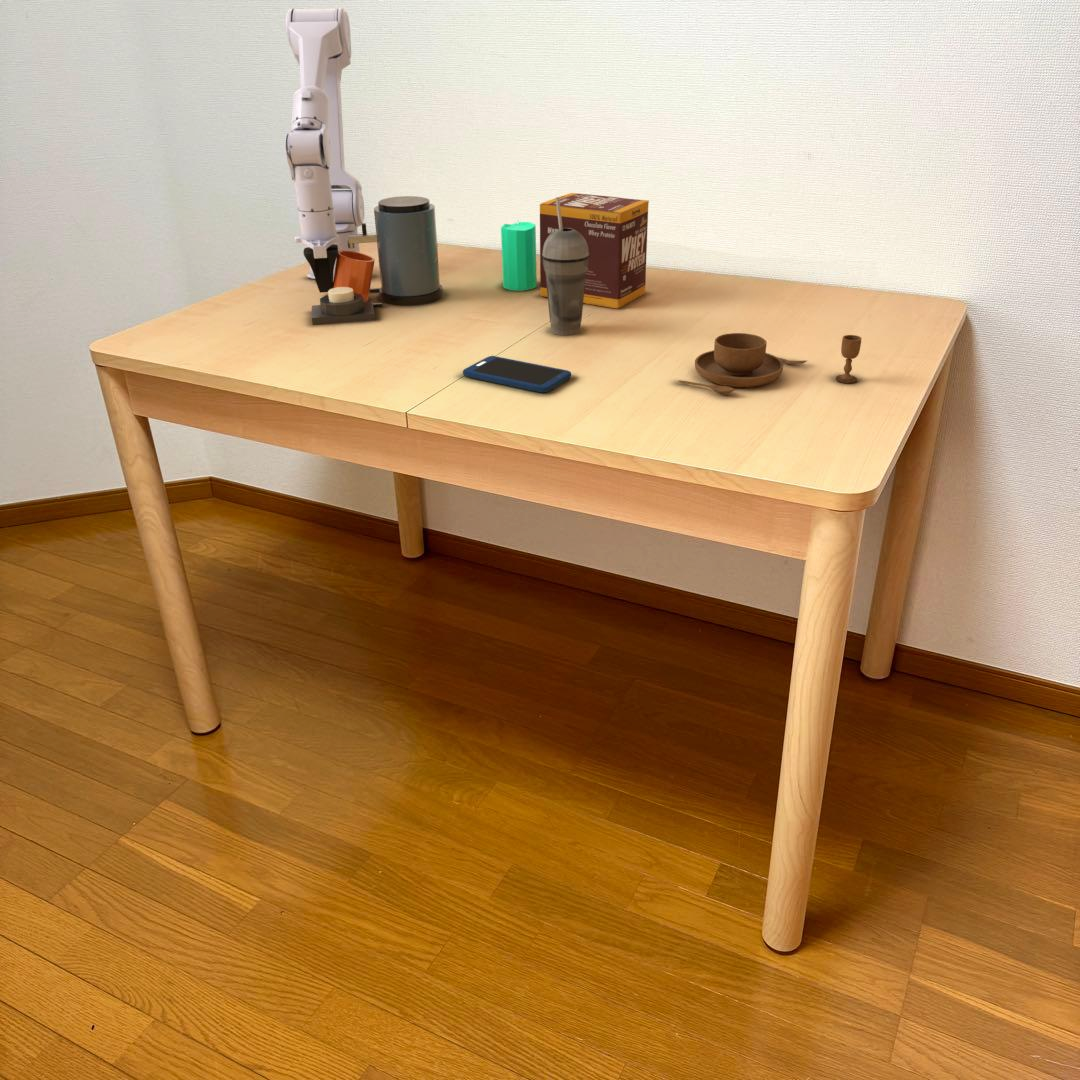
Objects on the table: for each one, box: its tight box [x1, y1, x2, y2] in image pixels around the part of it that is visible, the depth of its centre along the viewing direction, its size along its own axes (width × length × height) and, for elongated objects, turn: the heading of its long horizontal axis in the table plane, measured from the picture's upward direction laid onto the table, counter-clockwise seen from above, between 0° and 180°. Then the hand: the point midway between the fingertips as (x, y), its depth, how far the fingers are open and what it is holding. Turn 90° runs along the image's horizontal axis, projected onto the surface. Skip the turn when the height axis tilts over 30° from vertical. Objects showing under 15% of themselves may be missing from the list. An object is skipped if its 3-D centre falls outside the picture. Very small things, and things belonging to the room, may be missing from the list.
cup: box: [333, 250, 375, 302], centre depth 172 cm, size 6×6×7 cm
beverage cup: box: [541, 196, 590, 336], centre depth 153 cm, size 7×7×20 cm
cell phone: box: [462, 355, 572, 394], centre depth 141 cm, size 7×14×1 cm, turn 58°
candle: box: [500, 221, 538, 292], centre depth 177 cm, size 6×6×12 cm
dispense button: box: [327, 287, 354, 303], centre depth 165 cm, size 4×4×2 cm
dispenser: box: [347, 195, 444, 309], centre depth 171 cm, size 19×11×16 cm, turn 101°
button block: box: [311, 293, 376, 326], centre depth 166 cm, size 10×7×3 cm
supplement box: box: [539, 192, 650, 309], centre depth 171 cm, size 10×15×16 cm
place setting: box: [677, 332, 862, 394], centre depth 136 cm, size 18×20×6 cm
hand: (325, 291), depth 172 cm, fingers closed, pressing on cup
